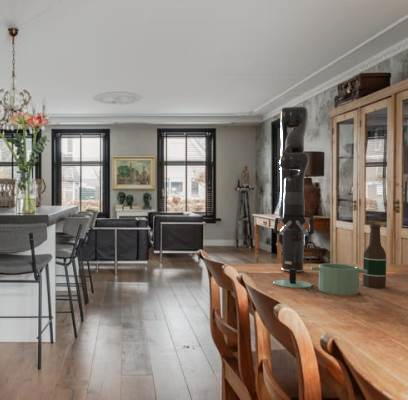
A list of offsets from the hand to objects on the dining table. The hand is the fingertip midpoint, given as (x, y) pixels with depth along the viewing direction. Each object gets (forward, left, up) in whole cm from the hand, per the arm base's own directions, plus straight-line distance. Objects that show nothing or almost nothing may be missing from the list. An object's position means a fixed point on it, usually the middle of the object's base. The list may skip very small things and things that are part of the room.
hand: (293, 244), depth 171 cm
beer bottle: (-9, +30, -16) cm, 35 cm away
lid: (+2, 0, -15) cm, 15 cm away
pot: (+8, +15, -16) cm, 23 cm away
